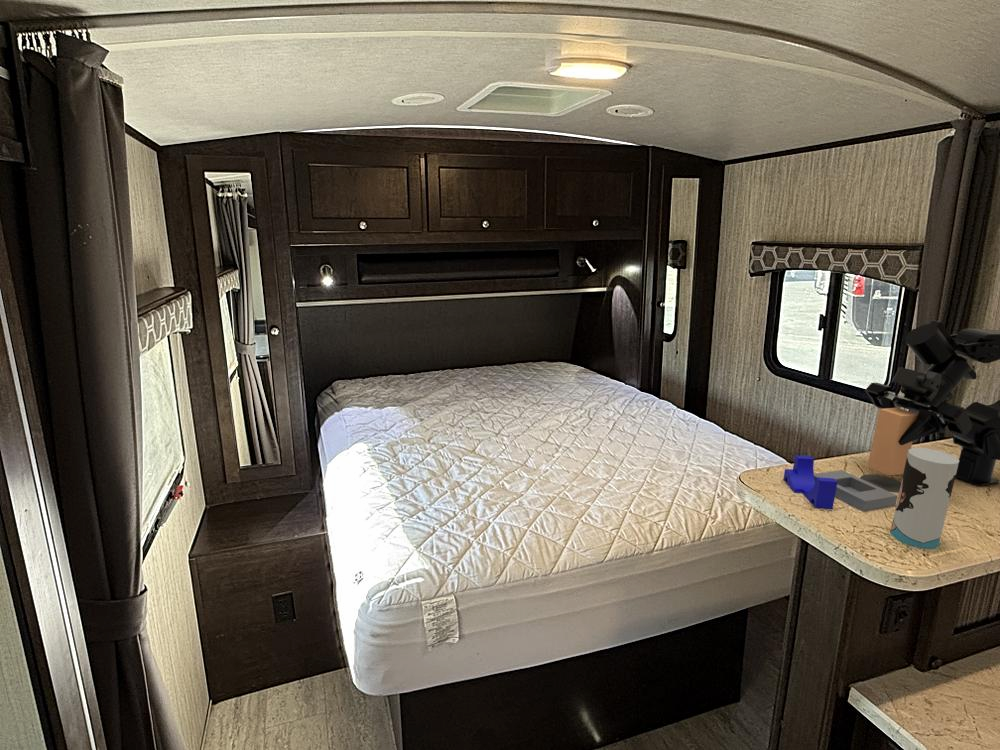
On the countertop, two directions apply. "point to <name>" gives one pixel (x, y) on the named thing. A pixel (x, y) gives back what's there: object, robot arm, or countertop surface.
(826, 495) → the cable clip
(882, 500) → the socket block
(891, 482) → the coaster
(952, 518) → the countertop surface
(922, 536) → the cup
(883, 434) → the tan rectangular block
